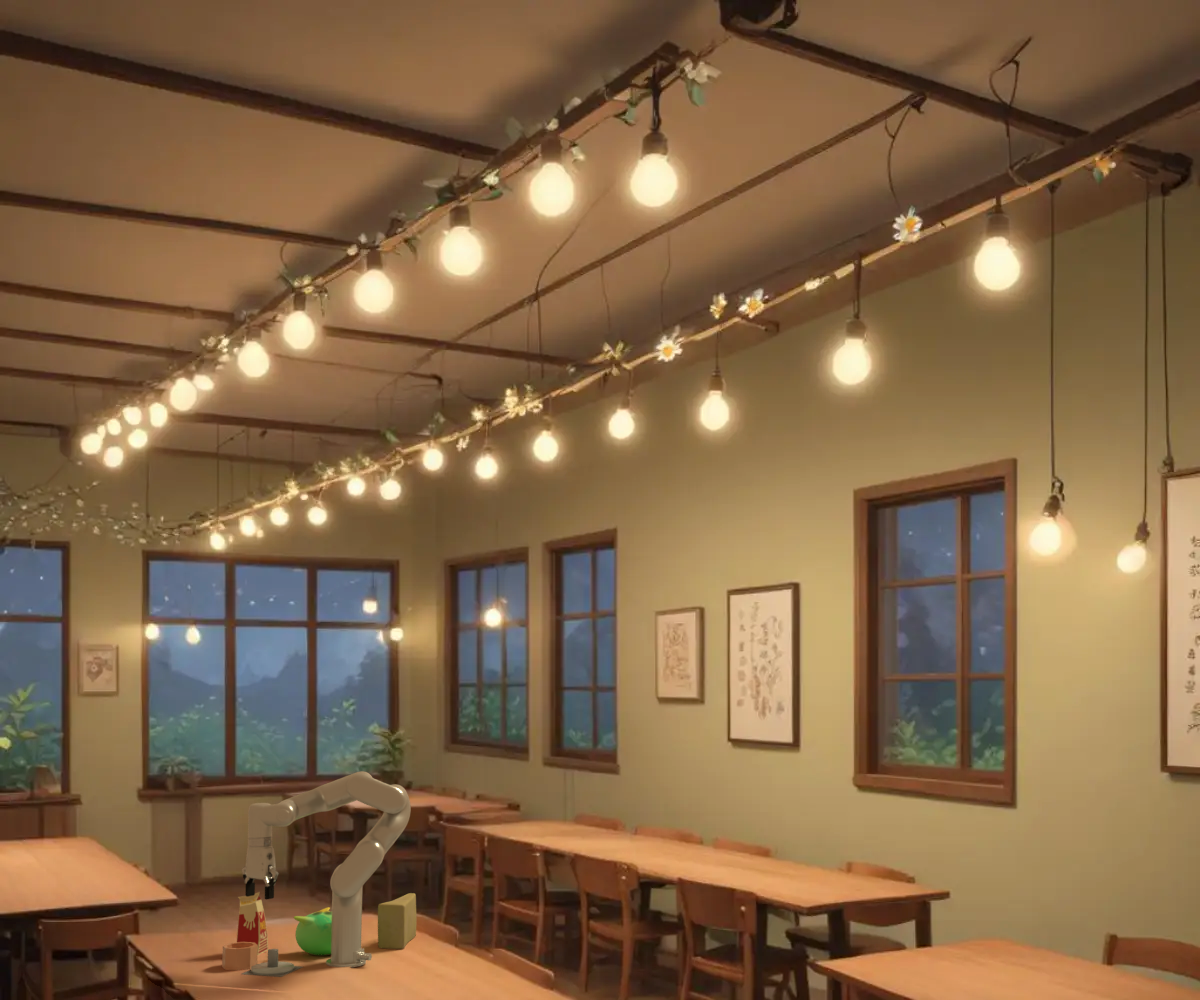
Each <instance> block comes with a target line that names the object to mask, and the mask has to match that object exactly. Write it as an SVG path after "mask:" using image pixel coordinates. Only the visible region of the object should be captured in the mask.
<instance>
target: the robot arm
mask: <svg viewBox="0 0 1200 1000" xmlns="http://www.w3.org/2000/svg"><path fill="white" fill-rule="evenodd" d="M355 801H358V802H359V803H361V804H364V805H366V806H369V807H371V808H374V809H376V810H379V811H381V812H383V814H382V816H381V817H380V818H379V819H378V821H377V822H376V823H375V825H374V826H373V827H372V828H371V829H370V830H369V832H367V834H366V835H365V836H364V837H363V838H362V839H361V840H360V841H359V842H358V843H357V844H356V846H355V848H354V849H353V850H352V851H351V852H350V854H349V855H348V856H347V857H346V859H345V860H344V861H343V862H342V863H340V864H339V865H338V866H336V868H334V871H333V873H332V875H331V877H330V888H331V891H332V893H331V895H332V896H331V912H332V925H331V954H330V958H329V959H326V961H325V965H326V966H328V967H334V968H351V969H352V968H357V967H361V966H363V965H366V963H367V961H371V960H372V957H373V956H372V953H371V952H365V948H362V928H363V927H362V921H363V920H362V919H363V918H362V916H363V887H364V885H365V883H366V882H367V881H368V880H369V879H370V878H371V877H372V876H373V874H374V873H375V872H376V871H377V869H378V868H379V867H380V866H381V864H382V863H383V860H384V857H385V855H386V854H387V852H388V851H389V850H390V848H391V847H392V846H393V845H394V844H395V842H396V841H397V840H398V838H399V837H401V835H402V833H403V832H404V831H405V829H406V827H407V826H408V823H409V821H410V817H411V812H412V811H411V801H410V797H409V793H408V792H407V790H406V789H405V787H403V785H400V784H398V783H397V784H395V783H393V784H389V783H386V782H383V781H380V780H379V779H376V778H374V777H373V776H372V775H371V774H370V773H369V772H367V771H357V772H354V773H352V774H349V775H345V776H343V777H341V778H338V779H336V780H333V781H330V782H328V783H325V784H322V785H319V786H317V787H315V788H313V789H311V790H308V791H307V790H306V792H302V793H299V794H298V795H294V796H292V797H289V798H286V799H284V800H282V801H280V802H279V803H275V804H273V803H272V804H271V803H269V802H255V803H251V804H250V805H249V806H248V812H247V818H248V819H247V820H248V822H247V825H248V826H247V828H248V829H247V849H246V857H245V858H246V859H245V866H244V867H242V868H241V873H242V878H243V881H244V882H243V883H244V884H245V895H244V896H246V897H248V896H253V895H255V893H256V892H255V891H256V889H255V888H256V885H255V884H256V883H255V882H254V881H255V880H259V881H263V882H264V883H265V886H264V899H265V900H271V899H274V898H275V886H276V883H277V881H278V877H279V875H280V873H279V871H278V870H277V869H276V866H277V864H276V854H275V849H274V847H273V827H281V828H282V827H288V826H290V825H291V824H293V823H294V822H295V821H297V820H299V819H301V818H304V817H308V816H310V815H314V814H316V813H321V812H329V811H332V810H335V809H337V808H340V807H343V806H345V805H348V804H350V803H353V802H355Z"/></svg>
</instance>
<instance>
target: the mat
mask: <svg viewBox="0 0 1200 1000" xmlns="http://www.w3.org/2000/svg"><path fill="white" fill-rule="evenodd" d="M302 968H303V965H302V966H300V965H294V970H293V971H291V972H288V973H284V974H278V975H257V974H253V973H252V972H251V969H248V970H247V971H245V972H242V973H241V975H246V976H247V975H248V976H260V977H274V978H282V977H284V976H286V975H289V974H291V973H293V972H295V971H297V970H300V969H302Z"/></svg>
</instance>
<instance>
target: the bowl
mask: <svg viewBox="0 0 1200 1000" xmlns="http://www.w3.org/2000/svg"><path fill="white" fill-rule="evenodd" d="M257 952H258V945H257V944H256V943H255V942H237V941H236V942H229V943H227V944H223V945H222V959H221V960H222V961H221V967H222V968H223V970H225V971H227V970H228V971H243V970H251V967H252V966H253V965H256V964H258V955H257Z"/></svg>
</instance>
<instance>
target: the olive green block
mask: <svg viewBox="0 0 1200 1000" xmlns="http://www.w3.org/2000/svg"><path fill="white" fill-rule="evenodd" d="M416 935H417V896H416V893H414V892H413V893H412V892H410V893H407V894H405V895H401V896H400V897H398V898H396V899H393V900H391V901H386V902H382V903H379V904H378V906H377V946H378V948H379V949H386V950H387V949H388V950H389V949H390V950H404V949H405V948H406V946H407V944H408V943H409V942H410V941H412V940H413V939H414V938H415V937H416Z"/></svg>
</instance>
